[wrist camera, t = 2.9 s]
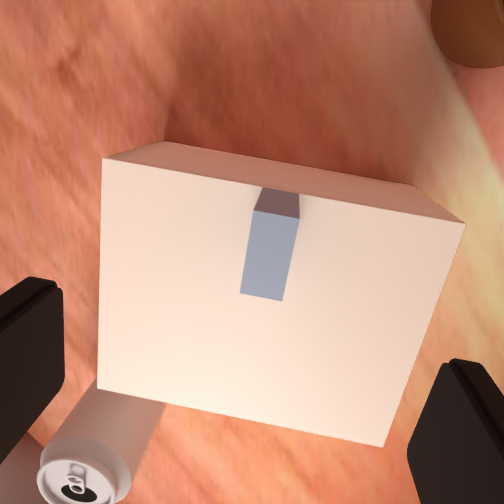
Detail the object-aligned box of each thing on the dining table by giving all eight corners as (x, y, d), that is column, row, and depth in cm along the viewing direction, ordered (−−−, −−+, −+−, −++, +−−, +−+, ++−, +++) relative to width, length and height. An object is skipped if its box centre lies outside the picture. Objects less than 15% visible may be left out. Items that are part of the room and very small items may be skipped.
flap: (381, 440, 27) (400, 519, 22) (101, 382, 28) (56, 445, 23) (461, 221, 22) (514, 258, 16) (106, 156, 22) (49, 172, 17)
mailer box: (359, 354, 37) (380, 439, 28) (149, 312, 38) (101, 381, 28) (412, 185, 31) (461, 220, 22) (163, 140, 32) (107, 156, 23)
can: (100, 408, 43) (30, 516, 31) (99, 349, 40) (22, 445, 29) (168, 420, 42) (122, 535, 31) (172, 362, 40) (123, 465, 28)
